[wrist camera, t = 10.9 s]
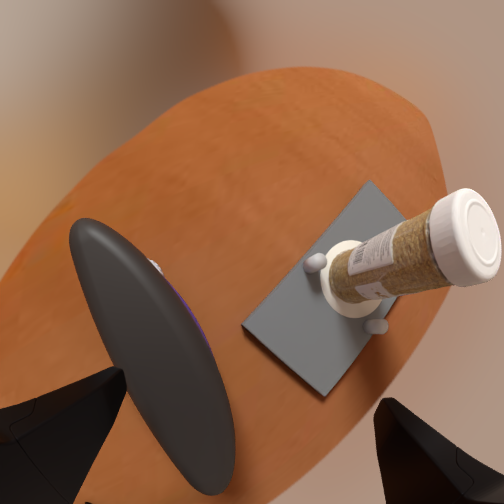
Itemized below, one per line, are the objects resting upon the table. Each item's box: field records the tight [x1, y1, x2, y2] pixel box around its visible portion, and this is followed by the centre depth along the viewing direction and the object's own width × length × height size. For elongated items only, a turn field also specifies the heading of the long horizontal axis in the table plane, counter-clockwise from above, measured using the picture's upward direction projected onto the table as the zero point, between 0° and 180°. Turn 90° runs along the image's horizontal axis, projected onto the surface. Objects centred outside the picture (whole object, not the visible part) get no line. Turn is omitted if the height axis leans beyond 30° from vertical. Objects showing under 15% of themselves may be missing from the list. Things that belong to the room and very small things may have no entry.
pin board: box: [241, 180, 407, 396], centre depth 22 cm, size 18×9×3 cm, turn 137°
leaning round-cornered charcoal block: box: [69, 218, 235, 496], centre depth 15 cm, size 16×5×9 cm, turn 27°
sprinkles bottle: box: [329, 188, 501, 304], centre depth 16 cm, size 5×5×13 cm
